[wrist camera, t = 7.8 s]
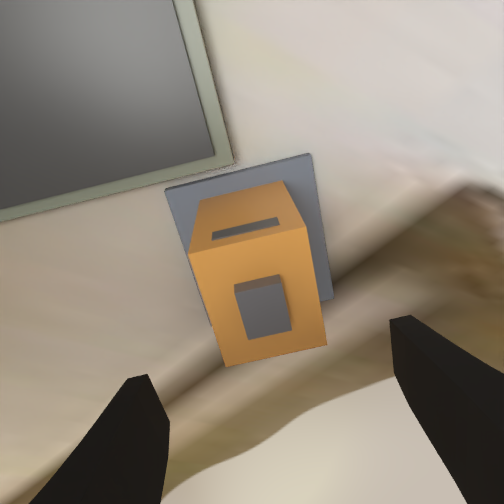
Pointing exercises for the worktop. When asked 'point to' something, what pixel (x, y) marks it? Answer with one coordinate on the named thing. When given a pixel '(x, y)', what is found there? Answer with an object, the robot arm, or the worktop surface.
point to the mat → (288, 170)
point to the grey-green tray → (102, 100)
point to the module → (256, 274)
